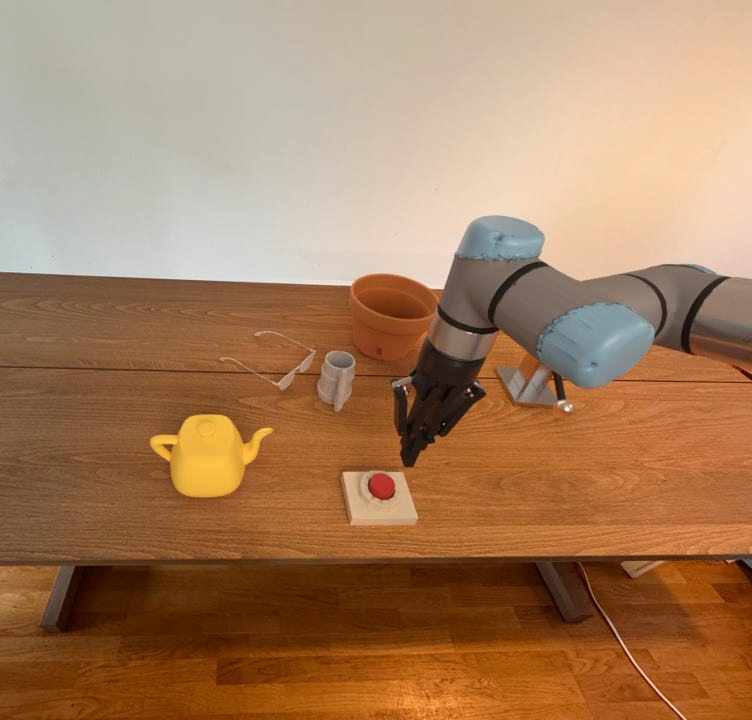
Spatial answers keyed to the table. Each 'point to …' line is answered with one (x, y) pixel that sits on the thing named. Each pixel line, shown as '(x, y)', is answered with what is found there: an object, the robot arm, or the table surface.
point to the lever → (561, 398)
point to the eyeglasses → (289, 377)
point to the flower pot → (389, 314)
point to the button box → (377, 501)
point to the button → (381, 486)
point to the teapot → (208, 455)
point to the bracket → (527, 383)
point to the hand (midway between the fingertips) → (406, 460)
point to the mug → (336, 378)
